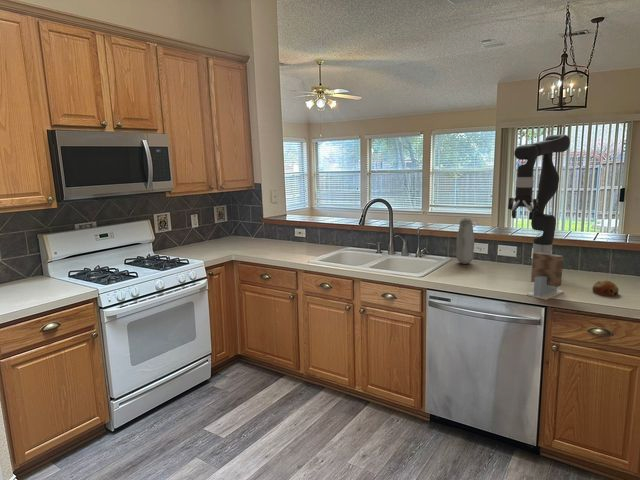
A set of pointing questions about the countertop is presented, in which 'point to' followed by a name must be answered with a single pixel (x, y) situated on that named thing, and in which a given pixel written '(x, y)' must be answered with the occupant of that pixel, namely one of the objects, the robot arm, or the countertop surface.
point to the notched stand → (543, 289)
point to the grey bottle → (465, 241)
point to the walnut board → (547, 267)
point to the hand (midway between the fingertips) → (522, 218)
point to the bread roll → (605, 288)
